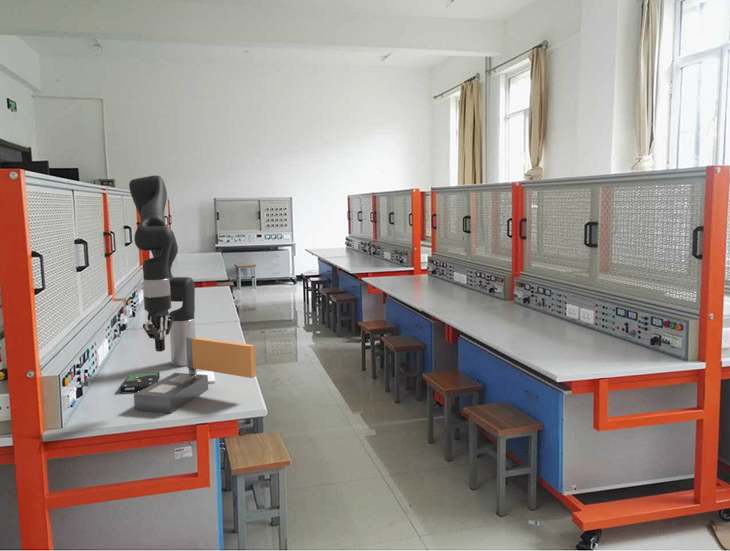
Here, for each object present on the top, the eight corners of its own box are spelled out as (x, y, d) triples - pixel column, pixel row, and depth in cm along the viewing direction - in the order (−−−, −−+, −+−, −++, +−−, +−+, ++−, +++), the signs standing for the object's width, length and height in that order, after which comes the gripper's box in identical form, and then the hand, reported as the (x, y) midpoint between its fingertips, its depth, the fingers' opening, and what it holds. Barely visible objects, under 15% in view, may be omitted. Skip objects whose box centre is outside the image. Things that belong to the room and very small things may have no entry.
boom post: (192, 386, 193) (191, 367, 193) (198, 386, 193) (197, 367, 192) (188, 388, 191) (187, 369, 190) (194, 388, 191) (193, 369, 190)
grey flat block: (175, 387, 192) (174, 371, 192) (208, 389, 190) (207, 373, 189) (134, 410, 171) (133, 392, 171) (170, 413, 168) (169, 395, 168)
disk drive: (154, 392, 189) (160, 378, 204) (153, 384, 189) (159, 371, 203) (120, 395, 187) (128, 381, 201) (120, 387, 187) (128, 373, 201)
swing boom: (185, 367, 190) (183, 338, 189) (192, 365, 193) (190, 336, 192) (250, 378, 178) (249, 347, 177) (257, 375, 181) (255, 344, 180)
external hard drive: (213, 374, 208) (215, 384, 197) (190, 376, 206) (190, 387, 194) (213, 370, 208) (214, 380, 196) (189, 372, 206) (189, 382, 194)
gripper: (158, 290, 178) (161, 345, 180) (132, 297, 165) (135, 356, 167) (180, 290, 176) (183, 346, 178) (155, 297, 164) (158, 357, 166)
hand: (160, 350), depth 173 cm, fingers closed
